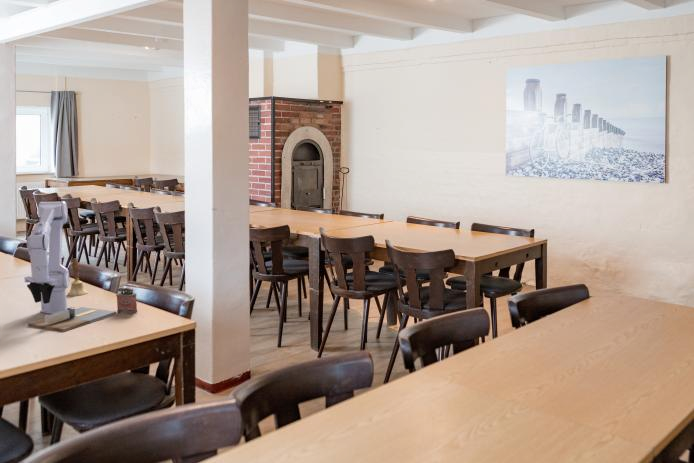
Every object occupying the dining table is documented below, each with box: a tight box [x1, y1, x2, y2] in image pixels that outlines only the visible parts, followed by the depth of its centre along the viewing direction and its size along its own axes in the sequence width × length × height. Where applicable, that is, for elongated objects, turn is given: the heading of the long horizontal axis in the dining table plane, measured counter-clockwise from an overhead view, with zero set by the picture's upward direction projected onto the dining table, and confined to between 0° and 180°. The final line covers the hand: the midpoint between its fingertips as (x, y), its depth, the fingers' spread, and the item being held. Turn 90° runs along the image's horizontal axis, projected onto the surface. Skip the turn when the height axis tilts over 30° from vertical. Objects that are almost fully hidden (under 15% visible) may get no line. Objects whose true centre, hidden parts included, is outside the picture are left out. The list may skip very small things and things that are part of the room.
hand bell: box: [67, 258, 88, 297], centre depth 305 cm, size 8×8×16 cm
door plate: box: [73, 306, 117, 324], centre depth 268 cm, size 18×14×1 cm
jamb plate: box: [27, 318, 90, 333], centre depth 256 cm, size 18×12×1 cm, turn 65°
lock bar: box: [44, 306, 76, 325], centre depth 257 cm, size 13×3×3 cm, turn 155°
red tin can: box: [115, 286, 138, 314], centre depth 273 cm, size 8×3×10 cm, turn 84°
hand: (42, 302), depth 256 cm, fingers open, 4 cm apart
